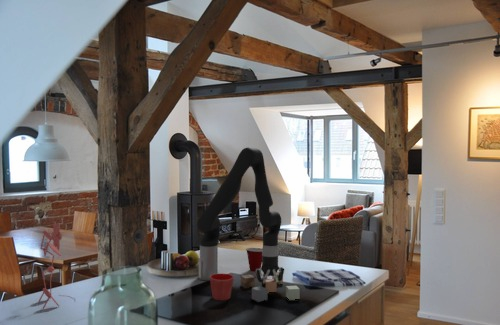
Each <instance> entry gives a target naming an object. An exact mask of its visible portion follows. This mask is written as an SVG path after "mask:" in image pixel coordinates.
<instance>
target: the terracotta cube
mask: <svg viewBox="0 0 500 325" xmlns="http://www.w3.org/2000/svg"><path fill="white" fill-rule="evenodd" d="M265 283H266V284H265V288H266V289H268V292H267V294H270V293H269V292H276V293H277V292H278V291H277V290H278V289H277V282H276V281H275V280H274V279H272V278H271V279H268V278H267V279H266V281H265Z"/></svg>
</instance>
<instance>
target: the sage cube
mask: <svg viewBox="0 0 500 325" xmlns="http://www.w3.org/2000/svg"><path fill="white" fill-rule="evenodd" d="M300 290H301V289H300V288H299V287H298V285H286V286H285V298H286V297H287V298H288V299H289V300H288V299H287V298H286V299H287V300H288V301H296V300H295V299H300V297H301V295H300V292H301V291H300Z"/></svg>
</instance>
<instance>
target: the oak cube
mask: <svg viewBox="0 0 500 325" xmlns="http://www.w3.org/2000/svg"><path fill="white" fill-rule="evenodd" d="M276 275H277V278H278V276H279V271H277V272H276ZM271 277H272V278H271V279H274V277H273V276H271ZM278 284H279V285H280V284H283V285H284V277H283V278H282V280H281V281H279V282H278ZM279 285H278V286H279Z"/></svg>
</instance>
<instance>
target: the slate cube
mask: <svg viewBox="0 0 500 325" xmlns="http://www.w3.org/2000/svg"><path fill="white" fill-rule="evenodd" d="M267 292H268V289H266V288H264V287H262V285H259V286H255V287H252V288H251V300H254V301H255V302H257V303H260V302H263V301H264V300H265V301H268V293H267Z"/></svg>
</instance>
